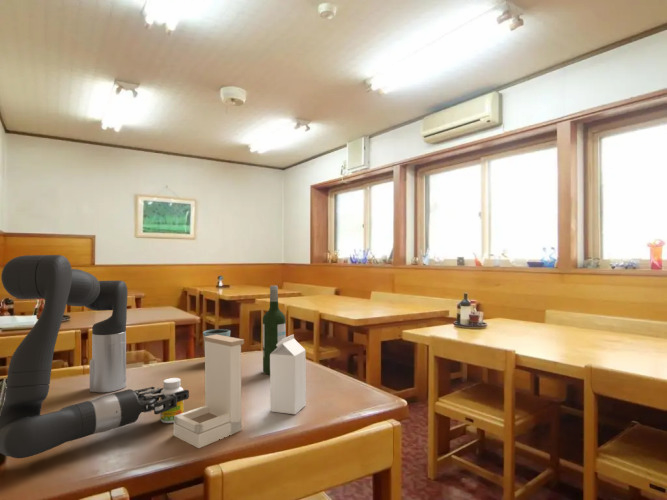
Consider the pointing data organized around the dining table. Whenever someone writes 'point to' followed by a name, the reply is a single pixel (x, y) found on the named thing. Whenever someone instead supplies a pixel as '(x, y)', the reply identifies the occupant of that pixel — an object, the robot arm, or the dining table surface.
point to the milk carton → (287, 377)
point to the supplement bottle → (169, 387)
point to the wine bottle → (272, 328)
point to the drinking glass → (216, 331)
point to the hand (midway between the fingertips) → (181, 391)
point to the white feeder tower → (215, 395)
